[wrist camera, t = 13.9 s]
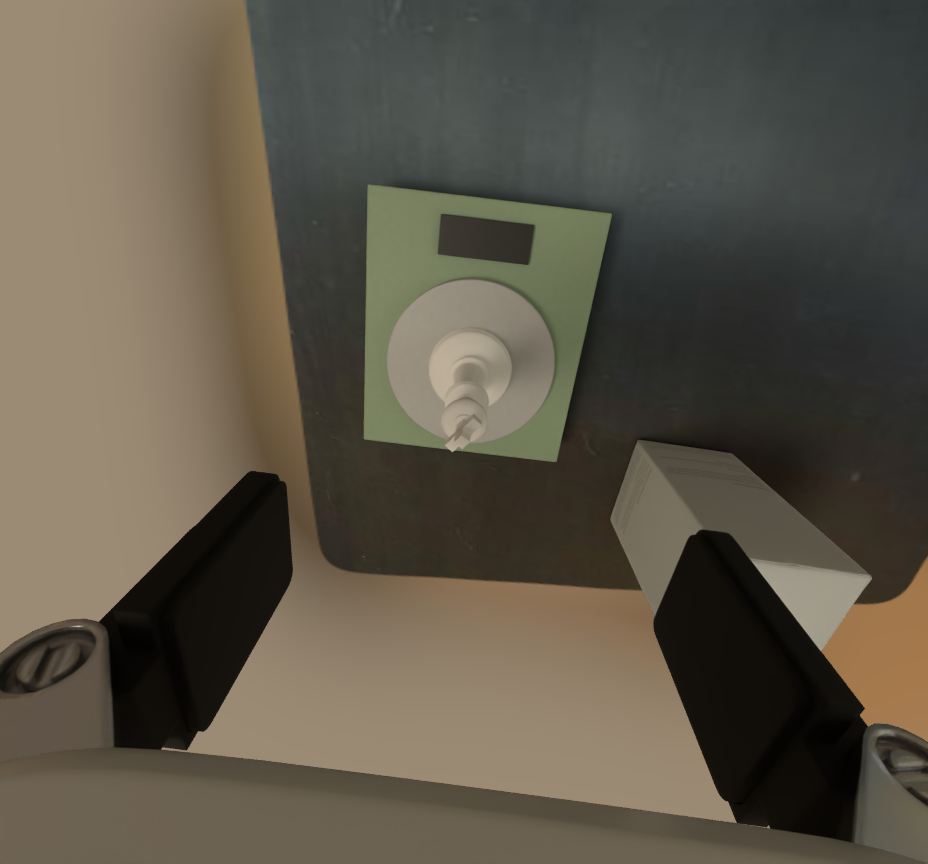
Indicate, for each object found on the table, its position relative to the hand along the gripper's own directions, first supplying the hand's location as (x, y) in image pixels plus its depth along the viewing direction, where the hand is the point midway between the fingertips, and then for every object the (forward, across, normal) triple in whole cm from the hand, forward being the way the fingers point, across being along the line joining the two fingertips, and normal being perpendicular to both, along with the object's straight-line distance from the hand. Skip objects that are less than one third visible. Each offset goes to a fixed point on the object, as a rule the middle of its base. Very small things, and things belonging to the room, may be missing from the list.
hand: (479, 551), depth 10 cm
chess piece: (+17, +1, +1) cm, 17 cm away
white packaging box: (+21, -15, +9) cm, 28 cm away
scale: (+21, +1, 0) cm, 21 cm away
